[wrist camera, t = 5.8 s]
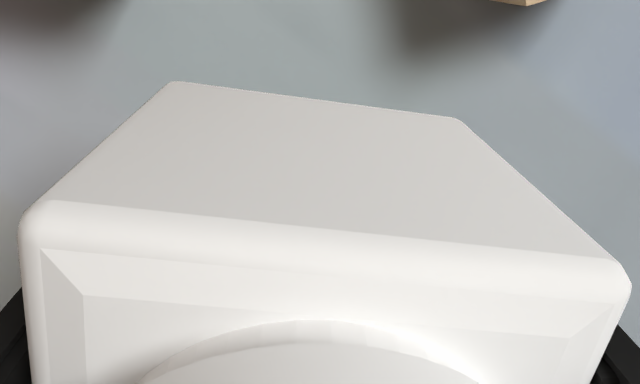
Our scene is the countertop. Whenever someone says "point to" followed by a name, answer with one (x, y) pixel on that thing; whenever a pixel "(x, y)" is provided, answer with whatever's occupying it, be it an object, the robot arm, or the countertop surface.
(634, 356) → the robot arm
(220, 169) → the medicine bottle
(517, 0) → the oak cube
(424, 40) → the countertop surface
